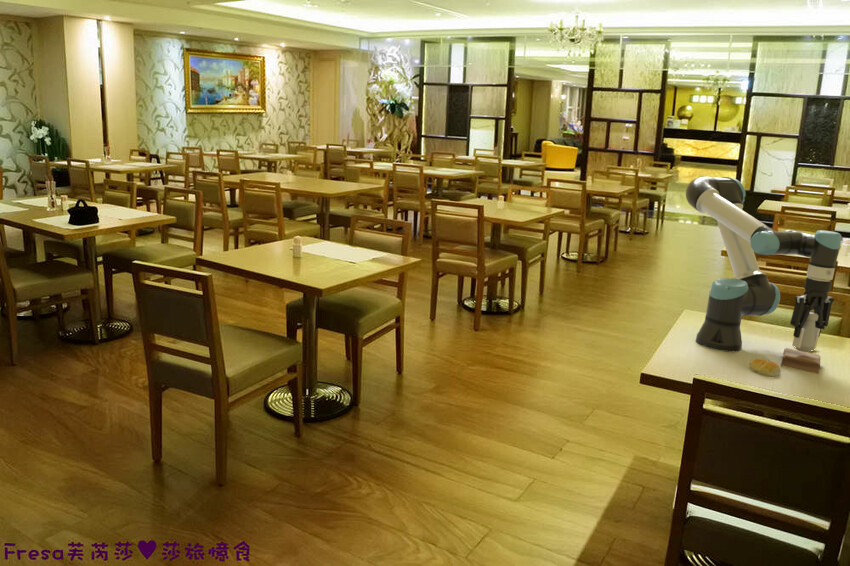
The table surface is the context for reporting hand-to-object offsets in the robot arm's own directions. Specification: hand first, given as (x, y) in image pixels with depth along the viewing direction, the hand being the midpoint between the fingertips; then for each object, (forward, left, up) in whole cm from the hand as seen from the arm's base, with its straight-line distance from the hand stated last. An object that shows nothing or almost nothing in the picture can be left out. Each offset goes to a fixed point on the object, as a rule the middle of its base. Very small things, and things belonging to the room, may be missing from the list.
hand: (804, 346), depth 233 cm
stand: (0, 0, -7) cm, 7 cm away
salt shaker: (0, 0, -2) cm, 2 cm away
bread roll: (-18, -5, -7) cm, 20 cm away
